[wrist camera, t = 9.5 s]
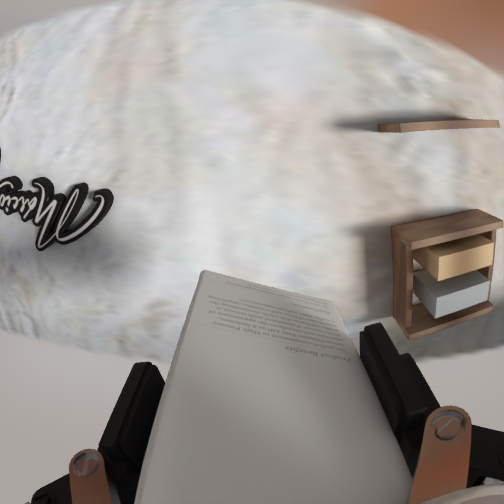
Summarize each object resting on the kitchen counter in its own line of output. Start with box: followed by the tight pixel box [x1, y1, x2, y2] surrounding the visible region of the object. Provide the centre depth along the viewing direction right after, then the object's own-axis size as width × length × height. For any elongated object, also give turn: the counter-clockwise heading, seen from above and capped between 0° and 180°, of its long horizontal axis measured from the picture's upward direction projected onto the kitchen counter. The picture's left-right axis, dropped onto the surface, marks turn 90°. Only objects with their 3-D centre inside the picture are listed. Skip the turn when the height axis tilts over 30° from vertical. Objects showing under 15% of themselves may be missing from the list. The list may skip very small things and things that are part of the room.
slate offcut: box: [413, 269, 490, 318], centre depth 24 cm, size 6×2×5 cm, turn 102°
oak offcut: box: [413, 234, 494, 281], centre depth 22 cm, size 6×2×5 cm, turn 102°
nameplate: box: [0, 149, 114, 251], centre depth 23 cm, size 28×2×10 cm
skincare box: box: [134, 270, 413, 504], centre depth 8 cm, size 6×4×12 cm
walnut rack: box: [378, 119, 503, 340], centre depth 22 cm, size 10×18×4 cm, turn 12°
